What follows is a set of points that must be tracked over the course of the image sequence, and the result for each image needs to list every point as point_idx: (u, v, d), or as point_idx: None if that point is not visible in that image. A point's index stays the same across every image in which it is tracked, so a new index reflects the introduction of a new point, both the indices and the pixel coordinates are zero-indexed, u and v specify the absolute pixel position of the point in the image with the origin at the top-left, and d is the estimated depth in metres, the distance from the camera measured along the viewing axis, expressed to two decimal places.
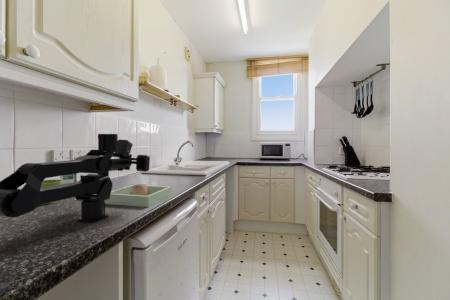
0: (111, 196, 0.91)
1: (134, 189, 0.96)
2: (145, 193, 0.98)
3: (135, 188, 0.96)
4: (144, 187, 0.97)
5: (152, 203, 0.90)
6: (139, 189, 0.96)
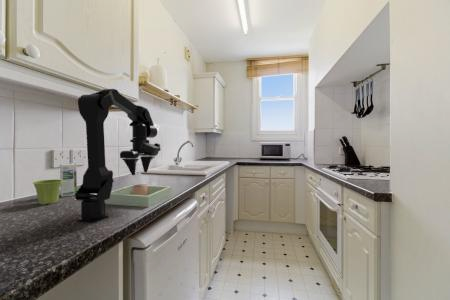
0: (111, 196, 0.91)
1: (134, 189, 0.96)
2: (145, 193, 0.98)
3: (135, 188, 0.96)
4: (144, 187, 0.97)
5: (152, 203, 0.90)
6: (139, 189, 0.96)
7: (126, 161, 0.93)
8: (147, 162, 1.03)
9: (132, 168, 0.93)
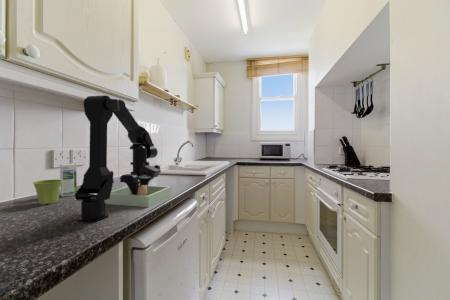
0: (111, 196, 0.91)
1: None
2: (145, 193, 0.98)
3: None
4: (144, 187, 0.97)
5: (152, 203, 0.90)
6: (139, 189, 0.96)
7: (128, 184, 0.94)
8: None
9: (134, 191, 0.95)
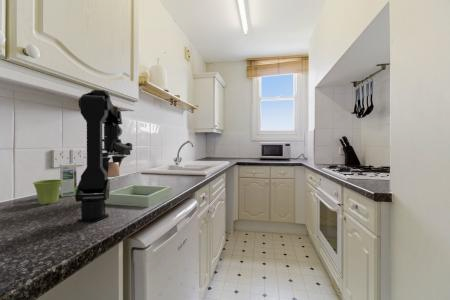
0: (111, 196, 0.91)
1: None
2: (116, 170, 0.99)
3: None
4: (115, 164, 0.99)
5: (152, 203, 0.90)
6: (110, 165, 0.98)
7: None
8: (118, 161, 1.03)
9: (104, 167, 0.96)
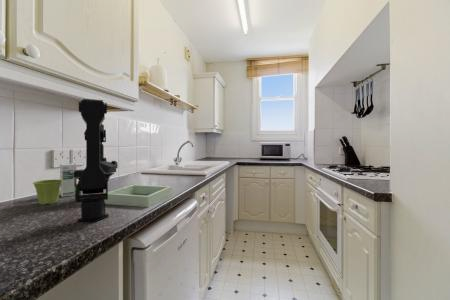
0: (111, 196, 0.91)
1: None
2: None
3: None
4: None
5: (152, 203, 0.90)
6: None
7: None
8: (105, 179, 1.06)
9: None
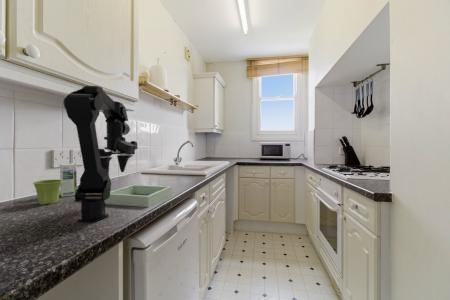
0: (111, 196, 0.91)
1: None
2: None
3: None
4: None
5: (152, 203, 0.90)
6: None
7: None
8: (124, 161, 0.97)
9: (105, 167, 0.86)
